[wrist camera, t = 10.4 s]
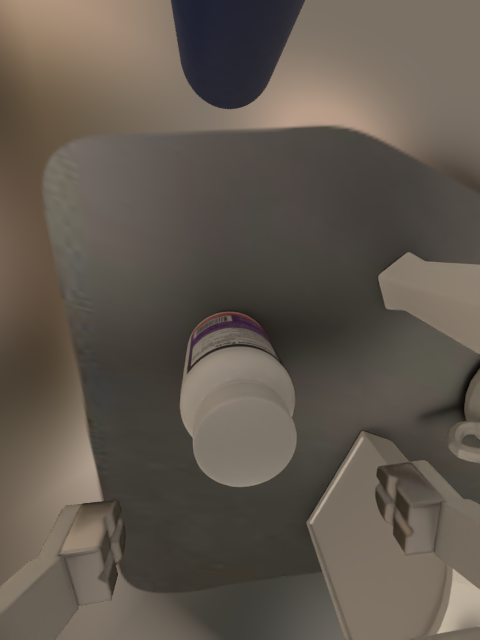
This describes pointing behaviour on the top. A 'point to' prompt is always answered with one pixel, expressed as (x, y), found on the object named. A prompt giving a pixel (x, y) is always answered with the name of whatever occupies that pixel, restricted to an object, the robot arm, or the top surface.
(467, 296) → the perfume bottle
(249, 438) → the pill bottle
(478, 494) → the top surface
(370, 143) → the top surface
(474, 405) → the mug
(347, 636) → the gravestone
